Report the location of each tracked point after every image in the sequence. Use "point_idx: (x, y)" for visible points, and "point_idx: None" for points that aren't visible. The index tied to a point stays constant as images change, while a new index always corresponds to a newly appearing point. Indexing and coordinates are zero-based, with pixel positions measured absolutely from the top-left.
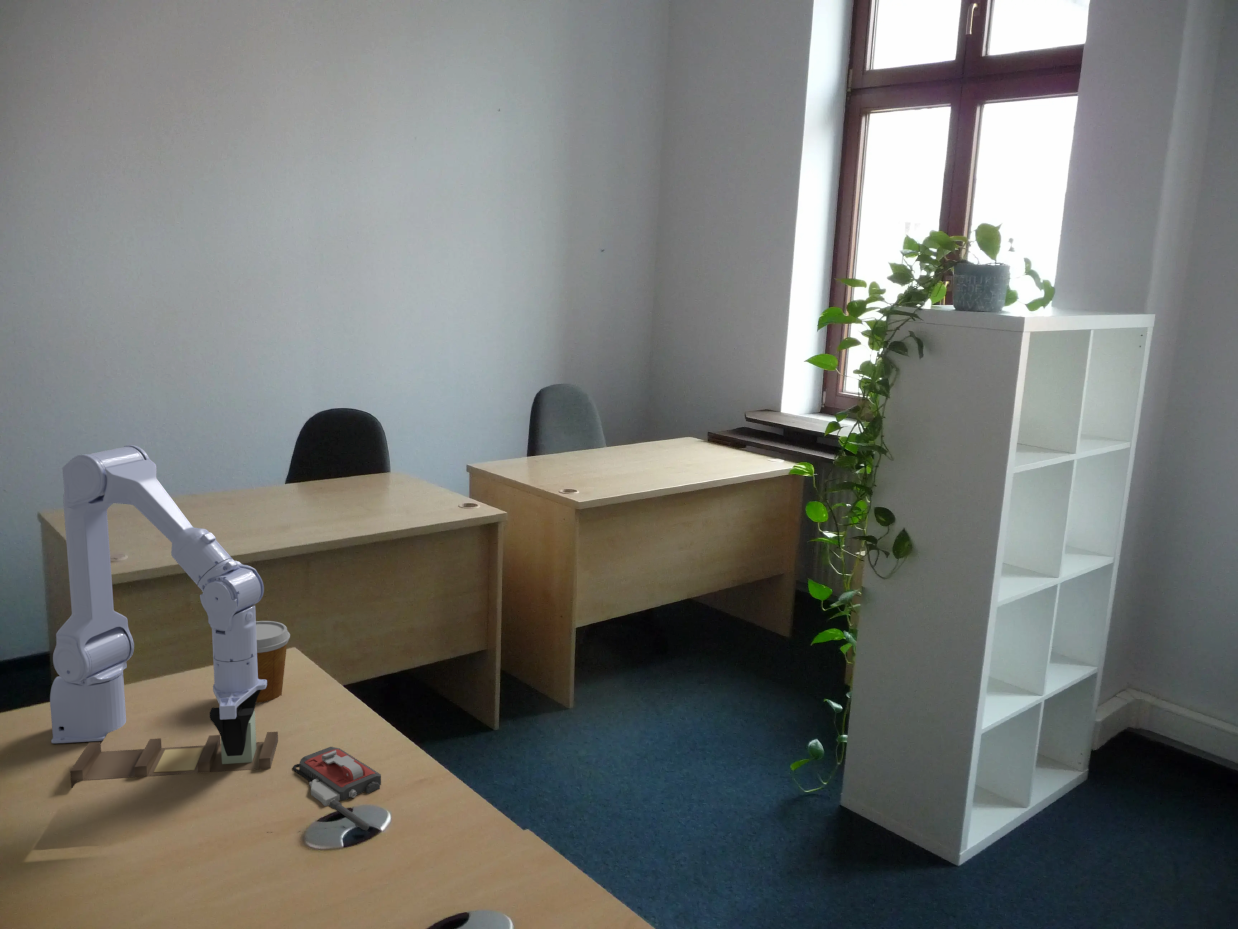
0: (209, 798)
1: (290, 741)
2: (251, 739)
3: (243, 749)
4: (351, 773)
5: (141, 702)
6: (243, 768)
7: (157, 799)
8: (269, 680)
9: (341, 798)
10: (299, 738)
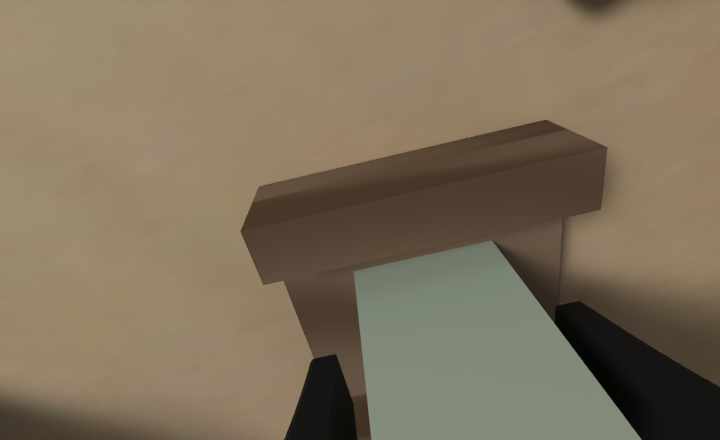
0: (686, 281)
1: (175, 147)
2: (545, 328)
3: (607, 319)
4: None
5: None
6: (548, 253)
7: None
8: None
9: None
10: (122, 108)
